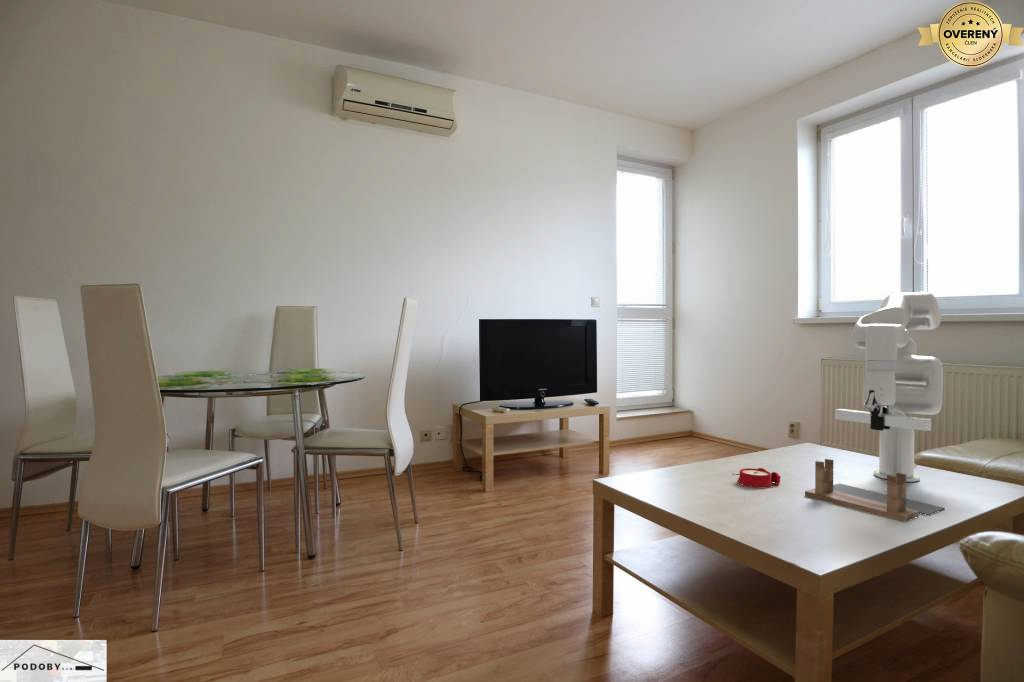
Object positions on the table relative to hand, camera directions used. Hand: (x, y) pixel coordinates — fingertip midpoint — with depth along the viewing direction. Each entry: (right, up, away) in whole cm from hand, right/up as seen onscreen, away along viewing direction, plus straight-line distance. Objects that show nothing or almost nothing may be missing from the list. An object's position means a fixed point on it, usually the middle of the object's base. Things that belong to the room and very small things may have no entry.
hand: (880, 428), depth 157 cm
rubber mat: (0, -21, 0) cm, 21 cm away
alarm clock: (-28, -21, +17) cm, 39 cm away
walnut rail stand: (-10, -21, -6) cm, 24 cm away
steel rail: (0, +1, 0) cm, 1 cm away
